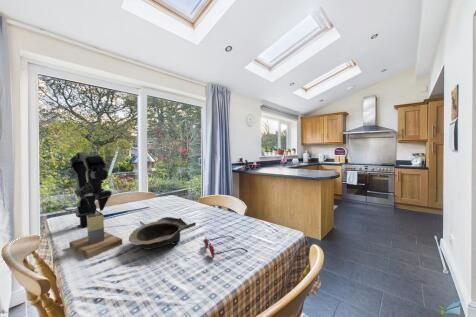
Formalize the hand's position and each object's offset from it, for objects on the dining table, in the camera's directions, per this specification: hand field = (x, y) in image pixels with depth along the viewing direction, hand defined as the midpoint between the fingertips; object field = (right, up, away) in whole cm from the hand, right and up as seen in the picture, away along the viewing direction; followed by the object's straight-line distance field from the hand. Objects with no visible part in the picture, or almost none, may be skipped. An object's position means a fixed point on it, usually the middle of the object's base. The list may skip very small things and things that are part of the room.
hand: (96, 209), depth 107 cm
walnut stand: (+8, -14, -12) cm, 20 cm away
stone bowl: (+36, -14, -10) cm, 40 cm away
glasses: (+68, -14, -15) cm, 71 cm away
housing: (+8, -11, -12) cm, 19 cm away
